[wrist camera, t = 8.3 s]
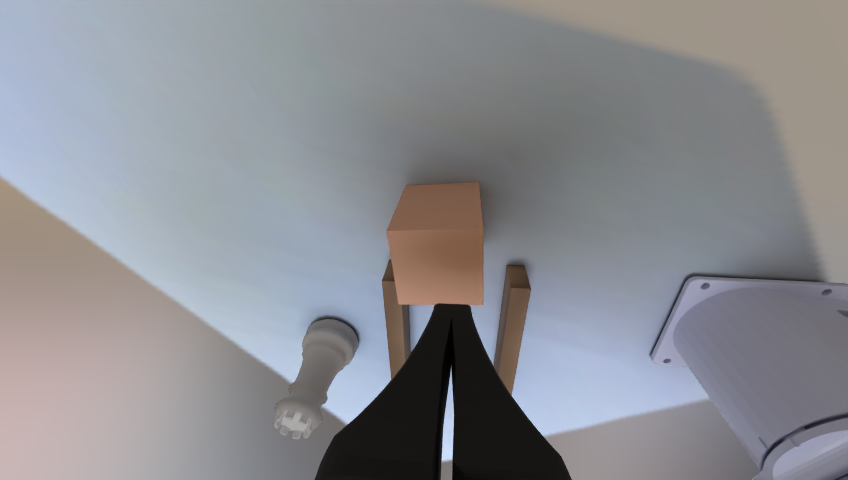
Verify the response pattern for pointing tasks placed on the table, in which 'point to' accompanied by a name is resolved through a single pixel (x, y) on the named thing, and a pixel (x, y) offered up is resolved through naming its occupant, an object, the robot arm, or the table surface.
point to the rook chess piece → (315, 376)
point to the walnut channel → (508, 329)
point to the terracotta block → (438, 245)
